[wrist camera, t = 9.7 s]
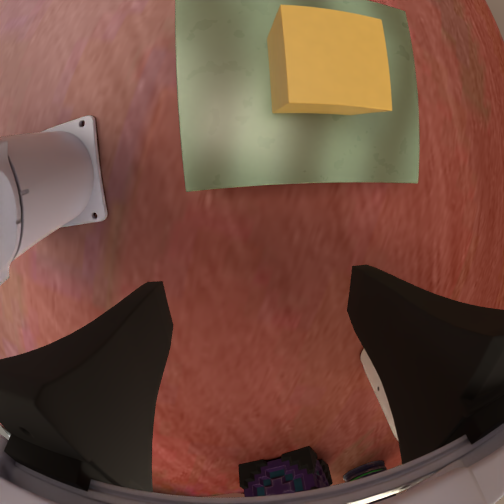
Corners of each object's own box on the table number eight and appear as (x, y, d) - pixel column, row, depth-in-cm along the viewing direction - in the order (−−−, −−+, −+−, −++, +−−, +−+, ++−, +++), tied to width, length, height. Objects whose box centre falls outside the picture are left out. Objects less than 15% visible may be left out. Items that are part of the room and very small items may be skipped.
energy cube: (268, 481, 40) (274, 531, 29) (238, 464, 35) (242, 526, 24) (327, 464, 38) (341, 516, 27) (308, 446, 34) (323, 511, 23)
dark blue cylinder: (365, 461, 40) (384, 518, 27) (392, 458, 43) (411, 508, 29) (333, 480, 44) (347, 532, 30) (362, 477, 46) (377, 524, 32)
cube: (271, 113, 13) (288, 103, 9) (266, 38, 11) (279, 4, 7) (351, 115, 13) (393, 111, 9) (345, 44, 12) (382, 19, 7)
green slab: (196, 179, 19) (185, 192, 14) (186, 21, 14) (175, -6, 10) (384, 172, 19) (418, 183, 15) (375, 28, 14) (405, 11, 10)
